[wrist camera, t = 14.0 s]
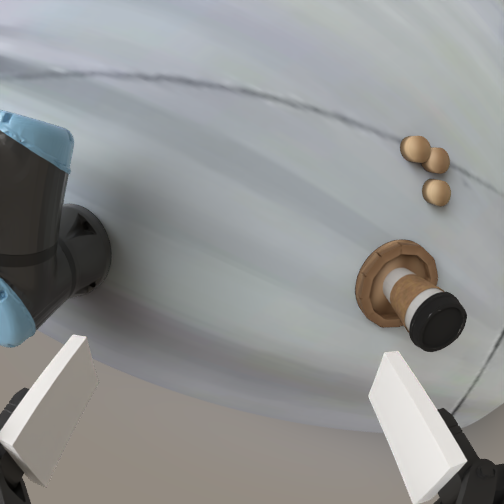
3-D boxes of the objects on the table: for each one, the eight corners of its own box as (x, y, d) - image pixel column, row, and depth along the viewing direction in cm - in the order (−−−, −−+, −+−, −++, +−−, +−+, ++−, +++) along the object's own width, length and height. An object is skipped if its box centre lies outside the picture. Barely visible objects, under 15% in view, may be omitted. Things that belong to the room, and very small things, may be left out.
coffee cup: (421, 293, 47) (468, 337, 33) (381, 314, 48) (420, 366, 34) (413, 251, 44) (466, 289, 30) (370, 273, 45) (413, 320, 31)
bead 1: (399, 160, 41) (409, 161, 38) (399, 135, 39) (409, 134, 37) (420, 162, 41) (430, 163, 38) (421, 138, 39) (430, 137, 37)
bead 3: (420, 201, 43) (430, 204, 40) (423, 177, 41) (433, 178, 39) (438, 204, 43) (448, 207, 40) (441, 180, 42) (452, 182, 39)
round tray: (347, 322, 49) (351, 329, 46) (364, 236, 44) (369, 240, 42) (419, 319, 49) (424, 326, 47) (439, 242, 45) (446, 246, 42)
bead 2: (419, 170, 41) (429, 171, 38) (421, 145, 40) (431, 145, 37) (438, 173, 41) (448, 175, 38) (439, 149, 40) (450, 150, 37)
